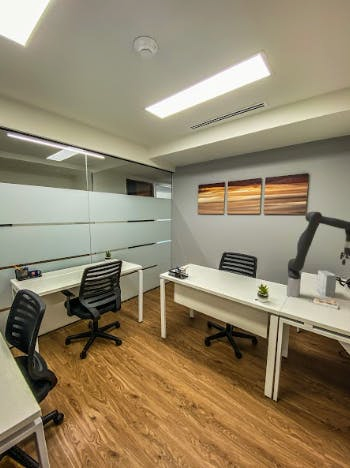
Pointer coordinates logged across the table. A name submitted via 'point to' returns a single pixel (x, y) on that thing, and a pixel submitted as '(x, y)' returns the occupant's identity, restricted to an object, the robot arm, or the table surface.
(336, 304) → the power strip
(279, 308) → the table surface
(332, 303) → the button
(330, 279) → the hard drive box
